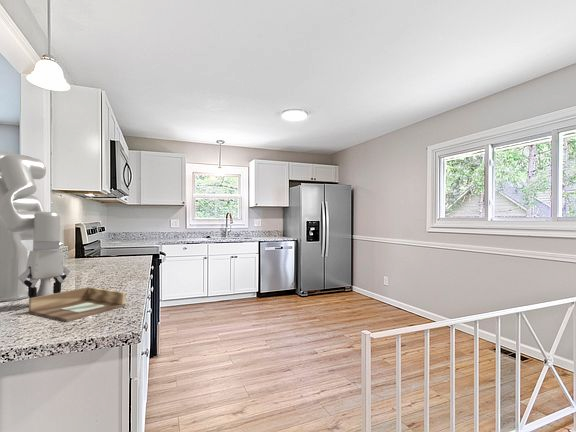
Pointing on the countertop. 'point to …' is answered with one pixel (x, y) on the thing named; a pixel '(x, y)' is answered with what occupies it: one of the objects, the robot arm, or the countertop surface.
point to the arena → (76, 303)
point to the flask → (45, 287)
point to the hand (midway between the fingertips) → (45, 295)
